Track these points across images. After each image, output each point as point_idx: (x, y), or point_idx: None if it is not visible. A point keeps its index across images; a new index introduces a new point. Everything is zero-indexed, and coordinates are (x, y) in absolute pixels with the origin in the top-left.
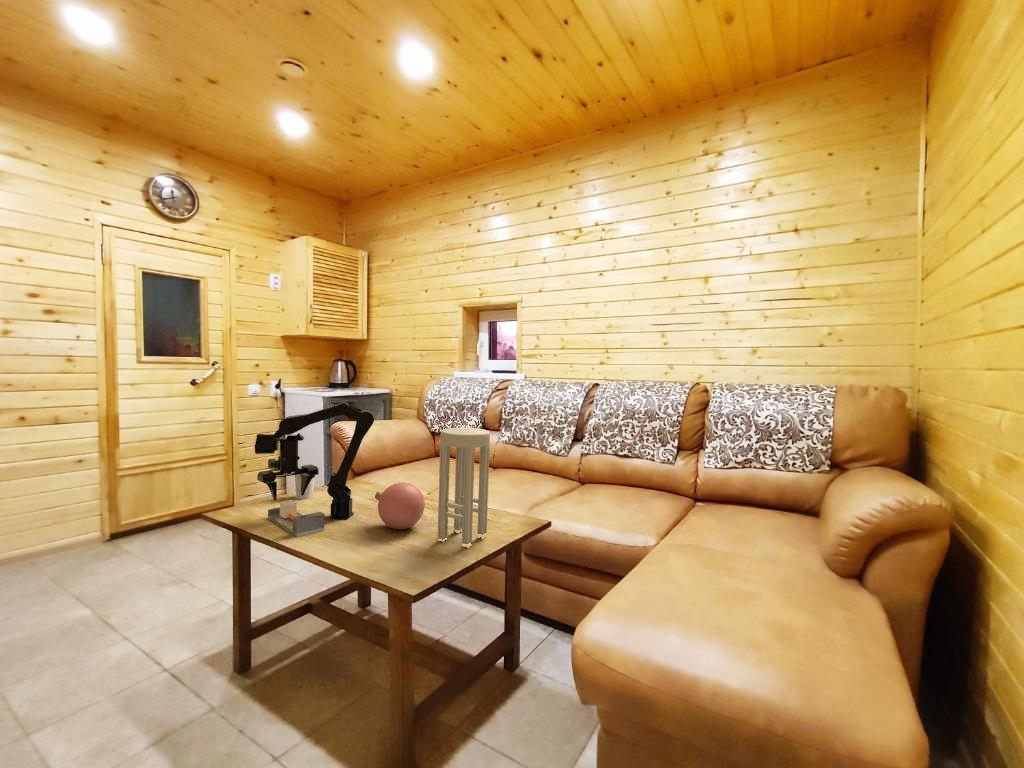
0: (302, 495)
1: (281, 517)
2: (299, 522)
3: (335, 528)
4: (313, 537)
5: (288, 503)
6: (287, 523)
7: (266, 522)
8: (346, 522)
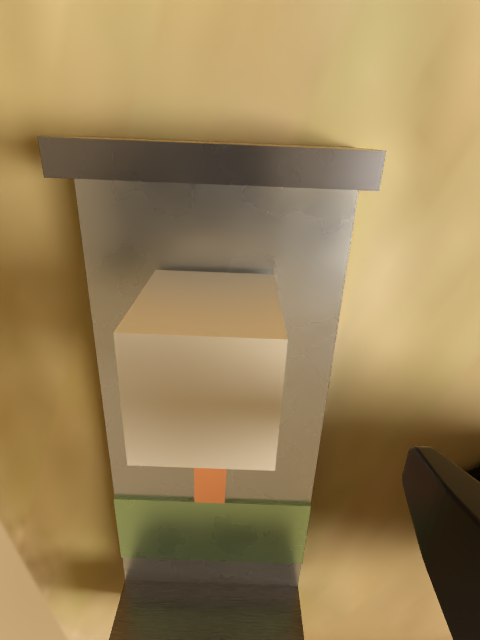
0: (405, 482)
1: None
2: None
3: (350, 609)
4: None
5: (182, 452)
6: None
7: (43, 260)
8: None
